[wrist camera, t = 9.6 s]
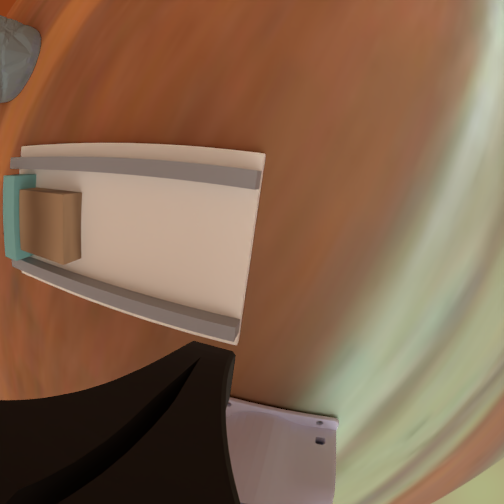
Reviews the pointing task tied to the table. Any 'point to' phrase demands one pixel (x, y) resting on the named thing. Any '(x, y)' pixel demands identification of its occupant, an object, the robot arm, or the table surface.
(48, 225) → the block
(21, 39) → the grey tapered pot
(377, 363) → the table surface
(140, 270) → the track
